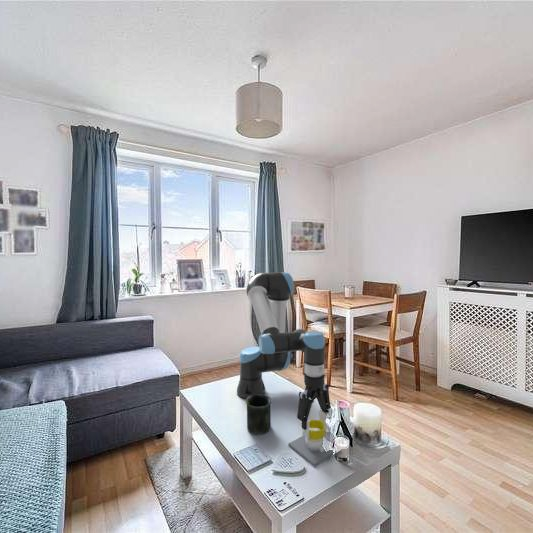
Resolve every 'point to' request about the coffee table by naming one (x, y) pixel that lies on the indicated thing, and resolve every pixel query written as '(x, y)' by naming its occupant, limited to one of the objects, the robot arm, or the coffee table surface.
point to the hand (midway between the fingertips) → (314, 432)
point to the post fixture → (311, 450)
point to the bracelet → (319, 425)
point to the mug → (258, 414)
